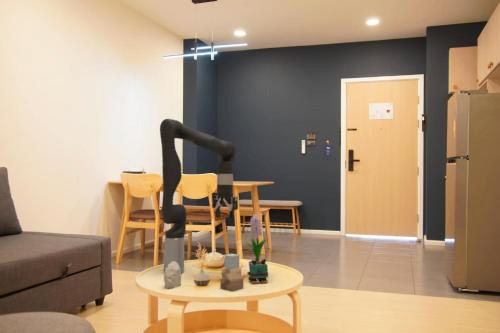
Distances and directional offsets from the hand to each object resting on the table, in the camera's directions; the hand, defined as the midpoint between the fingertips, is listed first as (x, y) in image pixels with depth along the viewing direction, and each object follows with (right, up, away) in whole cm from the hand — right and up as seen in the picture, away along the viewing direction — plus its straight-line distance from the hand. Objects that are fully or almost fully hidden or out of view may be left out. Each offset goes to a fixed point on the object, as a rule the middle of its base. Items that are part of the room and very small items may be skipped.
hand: (224, 218), depth 205 cm
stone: (-22, -28, -15) cm, 38 cm away
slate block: (+4, -19, -17) cm, 26 cm away
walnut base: (+4, -28, -17) cm, 33 cm away
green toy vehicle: (+15, -29, -5) cm, 33 cm away
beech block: (+4, -24, -17) cm, 29 cm away
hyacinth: (+16, -28, +3) cm, 33 cm away
